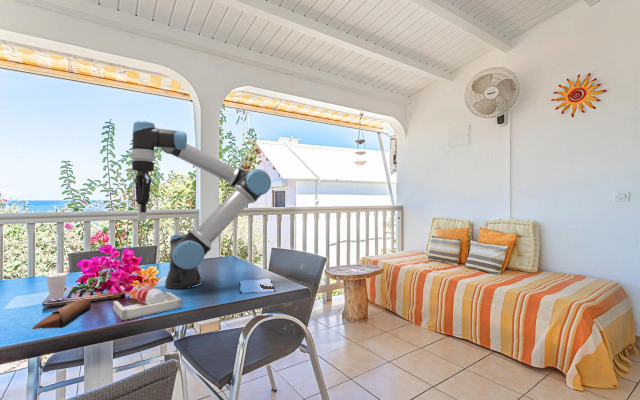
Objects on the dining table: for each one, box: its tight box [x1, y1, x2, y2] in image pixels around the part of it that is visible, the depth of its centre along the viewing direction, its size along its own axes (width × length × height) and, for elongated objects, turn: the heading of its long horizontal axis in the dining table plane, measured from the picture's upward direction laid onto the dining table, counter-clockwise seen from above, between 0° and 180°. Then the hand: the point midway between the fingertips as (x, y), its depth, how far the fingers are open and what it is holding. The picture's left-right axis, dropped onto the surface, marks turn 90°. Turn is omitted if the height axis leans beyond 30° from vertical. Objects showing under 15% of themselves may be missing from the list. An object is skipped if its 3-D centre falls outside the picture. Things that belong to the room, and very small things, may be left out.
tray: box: [112, 291, 183, 321], centre depth 112 cm, size 18×13×3 cm
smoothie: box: [45, 262, 69, 300], centre depth 120 cm, size 6×6×14 cm
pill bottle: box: [135, 285, 166, 305], centre depth 115 cm, size 6×6×11 cm
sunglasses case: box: [32, 298, 92, 330], centre depth 102 cm, size 18×7×7 cm
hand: (141, 220), depth 125 cm, fingers closed
